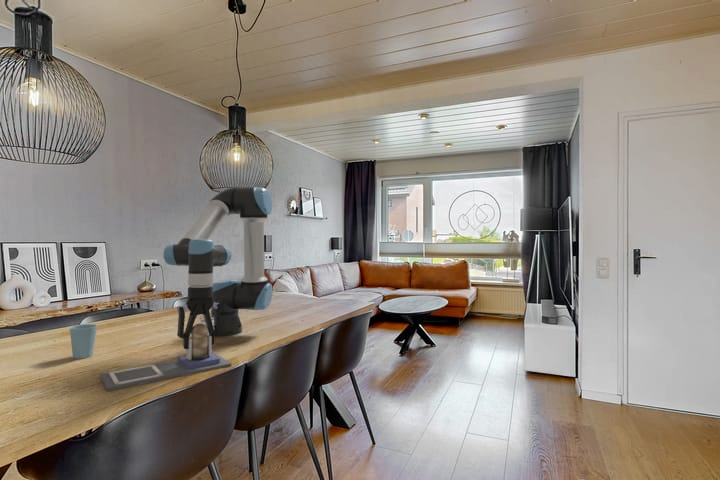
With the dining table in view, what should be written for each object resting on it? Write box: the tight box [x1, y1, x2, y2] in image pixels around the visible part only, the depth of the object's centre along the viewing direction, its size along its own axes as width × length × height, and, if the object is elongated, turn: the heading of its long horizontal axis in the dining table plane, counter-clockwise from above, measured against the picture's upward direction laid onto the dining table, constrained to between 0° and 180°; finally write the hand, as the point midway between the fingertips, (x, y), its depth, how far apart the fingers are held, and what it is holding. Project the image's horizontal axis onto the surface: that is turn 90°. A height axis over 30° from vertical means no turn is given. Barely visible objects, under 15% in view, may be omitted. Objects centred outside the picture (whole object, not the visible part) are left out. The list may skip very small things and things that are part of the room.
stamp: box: [190, 323, 208, 360], centre depth 124 cm, size 6×6×11 cm
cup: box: [69, 323, 98, 360], centre depth 131 cm, size 8×8×10 cm
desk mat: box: [99, 352, 232, 392], centre depth 118 cm, size 34×14×2 cm, turn 131°
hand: (198, 356), depth 124 cm, fingers closed on stamp, 6 cm apart
